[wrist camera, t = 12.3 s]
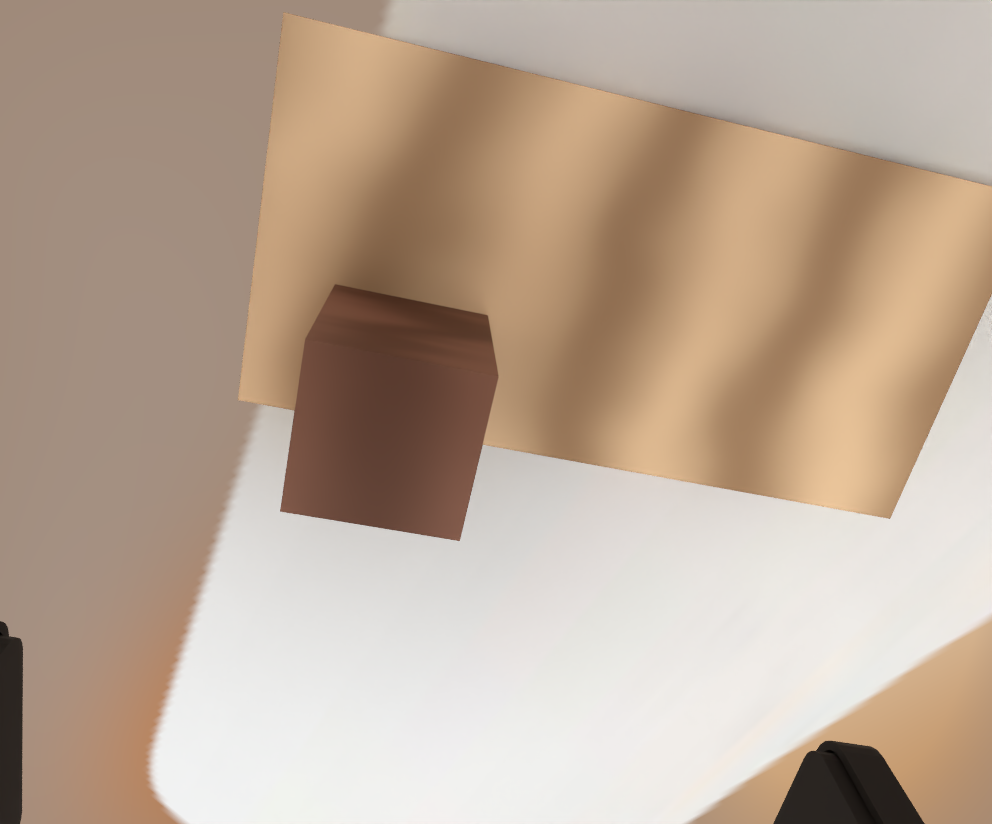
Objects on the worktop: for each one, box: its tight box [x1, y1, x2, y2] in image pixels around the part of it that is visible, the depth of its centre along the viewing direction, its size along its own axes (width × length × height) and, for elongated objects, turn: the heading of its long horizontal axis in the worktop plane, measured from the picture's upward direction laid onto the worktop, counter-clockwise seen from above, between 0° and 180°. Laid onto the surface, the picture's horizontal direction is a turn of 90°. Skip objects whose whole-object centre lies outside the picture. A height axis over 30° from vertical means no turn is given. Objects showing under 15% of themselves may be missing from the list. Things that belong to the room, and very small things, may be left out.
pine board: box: [238, 12, 992, 519], centre depth 28 cm, size 24×12×2 cm, turn 77°
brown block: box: [280, 284, 499, 541], centre depth 25 cm, size 5×6×8 cm
